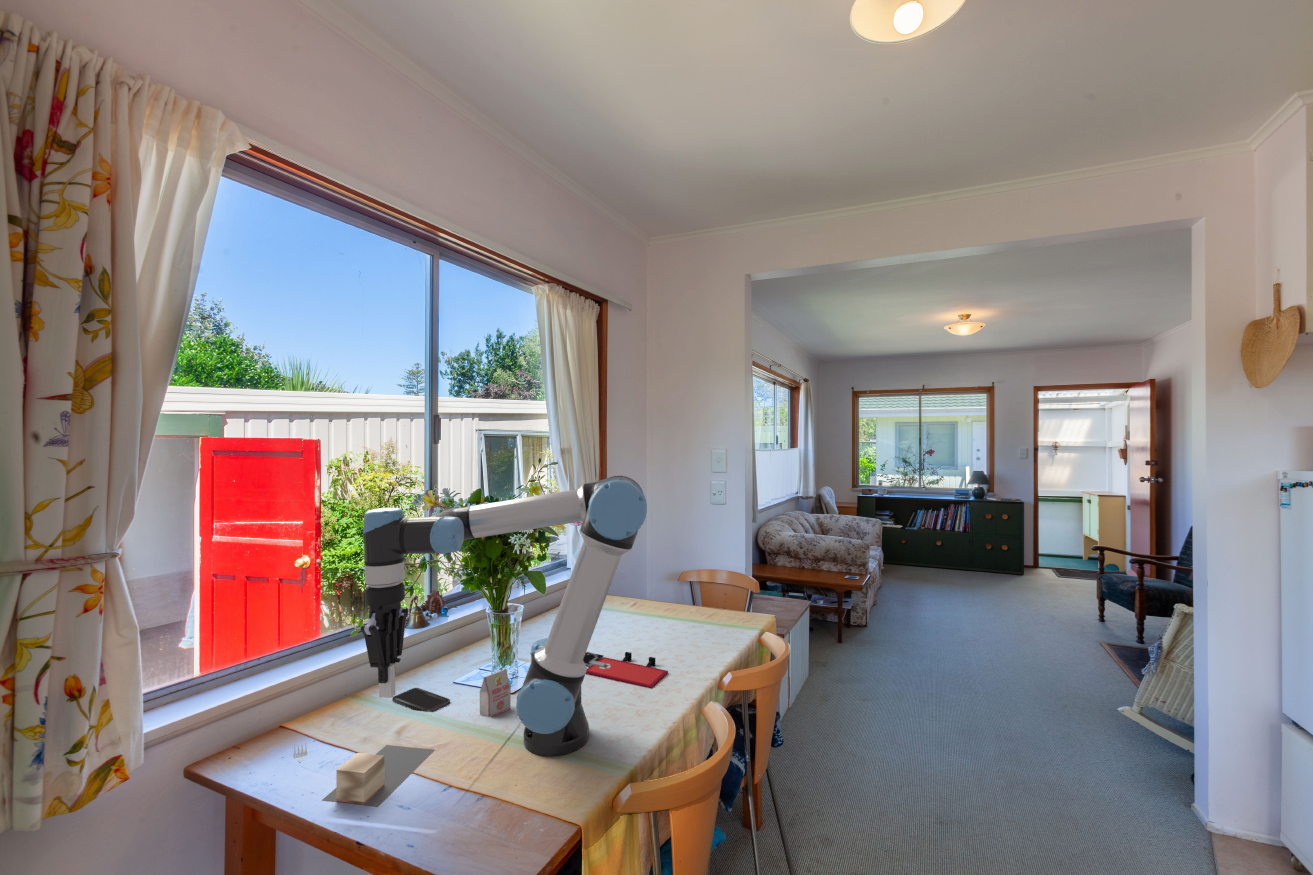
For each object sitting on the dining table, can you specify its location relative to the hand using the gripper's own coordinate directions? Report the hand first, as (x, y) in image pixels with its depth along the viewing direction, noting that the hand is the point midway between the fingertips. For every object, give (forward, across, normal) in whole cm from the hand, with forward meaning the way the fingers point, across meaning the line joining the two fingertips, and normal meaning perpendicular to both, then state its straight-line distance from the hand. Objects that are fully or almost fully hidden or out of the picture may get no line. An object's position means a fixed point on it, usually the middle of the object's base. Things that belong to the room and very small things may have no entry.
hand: (387, 695), depth 119 cm
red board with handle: (+19, -60, +36) cm, 73 cm away
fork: (+17, 0, -21) cm, 27 cm away
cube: (+10, +7, -2) cm, 12 cm away
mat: (+17, 0, -2) cm, 17 cm away
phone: (+17, -32, -12) cm, 39 cm away
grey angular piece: (+18, -30, +10) cm, 36 cm away
